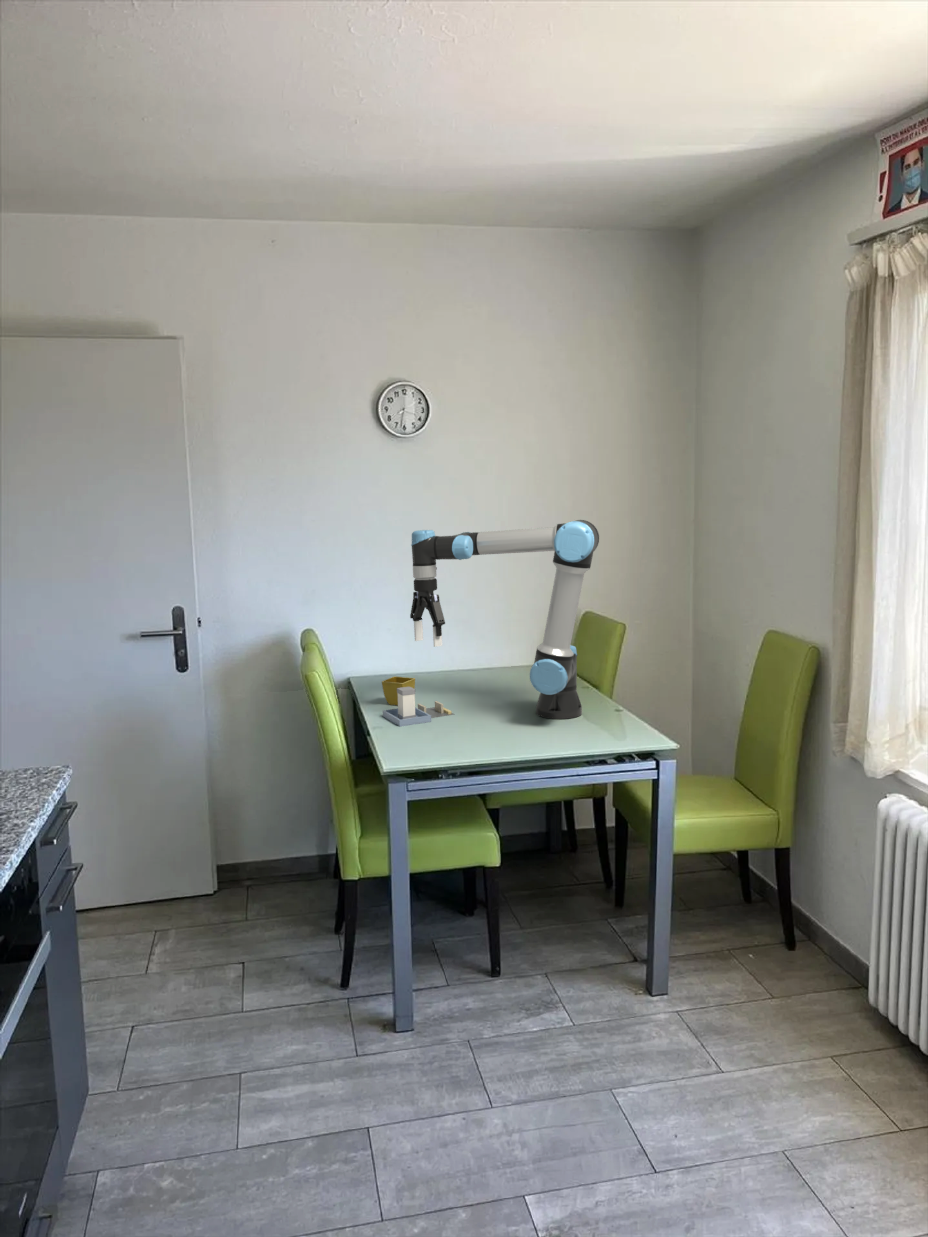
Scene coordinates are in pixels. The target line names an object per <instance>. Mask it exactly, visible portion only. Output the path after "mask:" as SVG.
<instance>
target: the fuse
mask: <svg viewBox="0 0 928 1237" xmlns="http://www.w3.org/2000/svg"><path fill="white" fill-rule="evenodd" d="M397 693H398V706H397V708H398V718H399V719H400V720H402V719H408V718H415V717H416V715H415V707H416V688H415V689H414V688H412V687H402V688H397Z"/></svg>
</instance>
